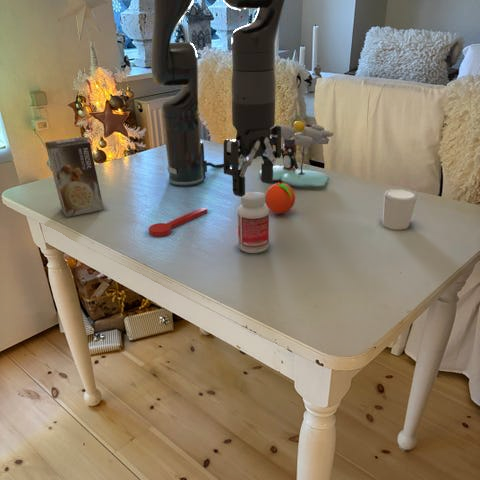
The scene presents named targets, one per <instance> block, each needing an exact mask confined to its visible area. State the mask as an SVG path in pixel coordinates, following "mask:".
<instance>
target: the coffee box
mask: <svg viewBox="0 0 480 480" xmlns="http://www.w3.org/2000/svg"><path fill="white" fill-rule="evenodd" d="M44 145H45V149H46V152H47V156H48V160H49V165H50V168H51V172H52V176H53V181H54V185H55V188H56V192H57V196H58V200H59V203H60V208H61V210H62V212H63V214H64V215H65V217H66V218H70V217H74V216H81V215H84V214H90V213H94V212H99V211H103V210H105V207H104V202H103V199H102V195H101V188H100V184H99V180H98V174H97V170H96V169H97V168H96V164H95V161H94V160H95V159H94V154H93V151H92V146H91V141H89V140H88V139H87V138H86V137H84V136H80V137H72V138H65V139H60V140H59V139H58V140H53V141H51V140H50V141H45V142H44Z"/></svg>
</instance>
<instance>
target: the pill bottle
mask: <svg viewBox="0 0 480 480" xmlns="http://www.w3.org/2000/svg"><path fill="white" fill-rule="evenodd" d="M265 196H266V193H264V192H260V191H247V192H245V195H244V196H242V197H240V203H241V205H240V206H238V208H237V236H238V237H237V239H238V248H239V250H241V251H242V252H243V253H246V254H259V253H263V252H265V251H266V250H267V249H269V246H270V245H269V244H270V243H269V242H270V240H269V238H270V236H269V235H270V209H269V208H268V207H267V204H266V201H265Z"/></svg>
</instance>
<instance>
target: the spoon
mask: <svg viewBox="0 0 480 480" xmlns="http://www.w3.org/2000/svg"><path fill="white" fill-rule="evenodd" d="M208 211H209V210H208V208H207V207H204V206H202V207H200V208H196V209H195V210H192V211H190V212H188V213H187V214H184V215H182V216H179V217H177V218H175V219H173V220H171V221H168V222H157V223H153V224H151V225H150V226H149V227H148V233H149V235H150V236H151V237H154V238H163V237H167V236H170V234H171V233H172V230H173V229H176V228H177V227H179V226H181V225H184V224H185V223H188V222H191V221H193V220H194V219H197V218H199V217H201V216H204V215H205V214H207V213H208Z"/></svg>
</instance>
